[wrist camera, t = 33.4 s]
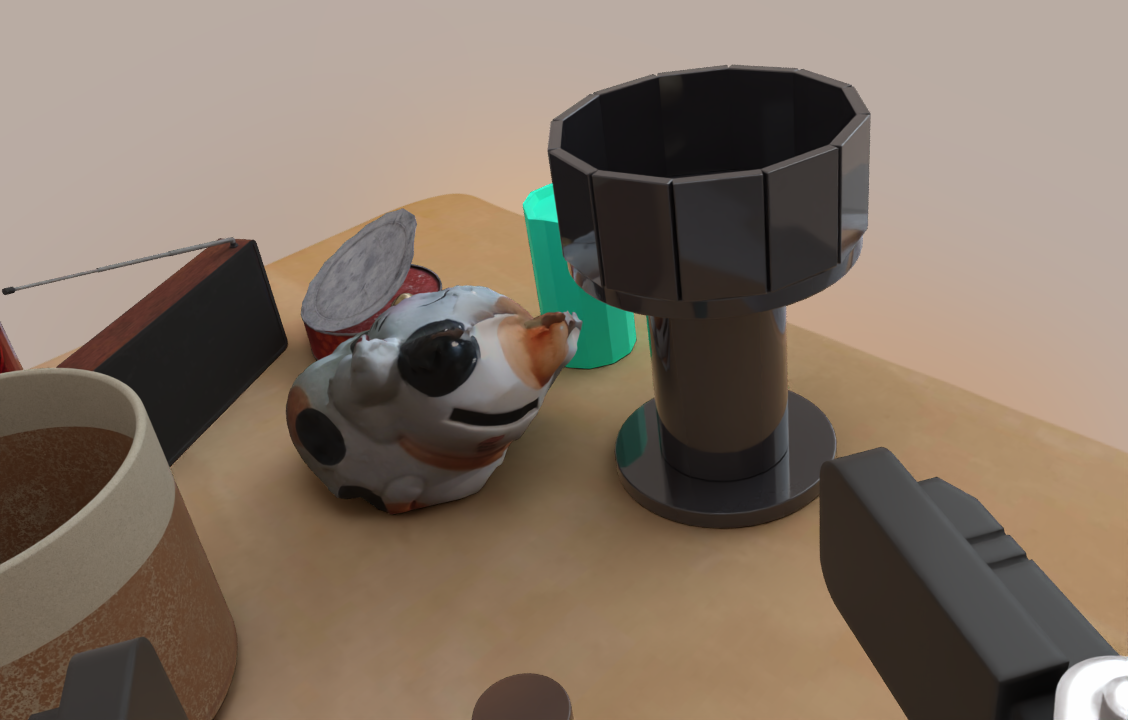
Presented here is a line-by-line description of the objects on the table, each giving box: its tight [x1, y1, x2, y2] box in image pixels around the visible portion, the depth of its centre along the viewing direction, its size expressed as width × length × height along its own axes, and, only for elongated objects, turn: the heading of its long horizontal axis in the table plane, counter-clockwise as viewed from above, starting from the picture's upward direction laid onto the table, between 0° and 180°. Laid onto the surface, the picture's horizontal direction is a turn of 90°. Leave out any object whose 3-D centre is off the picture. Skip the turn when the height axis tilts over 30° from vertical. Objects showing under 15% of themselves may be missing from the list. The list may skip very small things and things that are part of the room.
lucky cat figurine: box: [286, 285, 583, 514], centre depth 59 cm, size 15×12×14 cm
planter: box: [0, 368, 237, 720], centre depth 46 cm, size 16×16×14 cm
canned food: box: [301, 209, 442, 360], centre depth 74 cm, size 11×10×10 cm
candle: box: [523, 183, 636, 369], centre depth 67 cm, size 6×6×12 cm
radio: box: [2, 237, 288, 467], centre depth 65 cm, size 19×3×15 cm, turn 161°
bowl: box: [548, 65, 870, 528], centre depth 54 cm, size 14×14×20 cm
